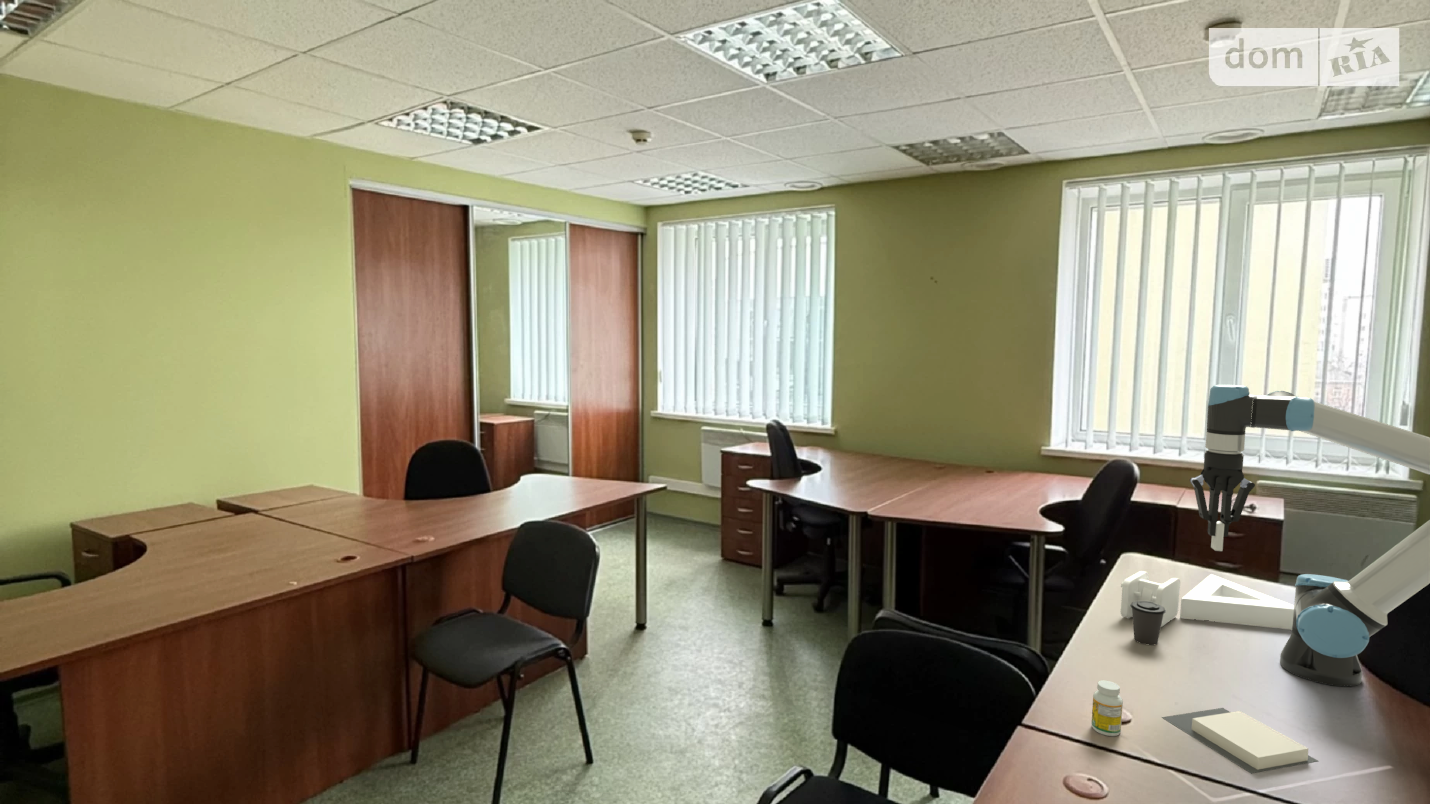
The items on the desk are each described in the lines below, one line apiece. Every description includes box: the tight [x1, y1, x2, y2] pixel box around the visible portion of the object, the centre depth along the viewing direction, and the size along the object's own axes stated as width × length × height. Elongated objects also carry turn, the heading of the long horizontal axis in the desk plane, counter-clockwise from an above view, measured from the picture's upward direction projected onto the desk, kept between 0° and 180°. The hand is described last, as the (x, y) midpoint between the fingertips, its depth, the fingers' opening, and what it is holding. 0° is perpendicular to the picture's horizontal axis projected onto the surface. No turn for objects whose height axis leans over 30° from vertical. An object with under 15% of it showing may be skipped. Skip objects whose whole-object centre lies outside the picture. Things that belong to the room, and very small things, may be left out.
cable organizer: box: [1120, 570, 1181, 628], centre depth 208 cm, size 15×11×12 cm
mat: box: [1161, 707, 1319, 775], centre depth 147 cm, size 20×16×1 cm
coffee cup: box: [1130, 601, 1166, 646], centre depth 193 cm, size 8×8×10 cm
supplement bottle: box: [1091, 679, 1124, 737], centre depth 151 cm, size 5×5×10 cm
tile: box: [1192, 710, 1309, 770], centre depth 145 cm, size 2×12×14 cm
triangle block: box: [1179, 573, 1294, 631], centre depth 216 cm, size 30×26×6 cm
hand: (1216, 549), depth 175 cm, fingers closed
